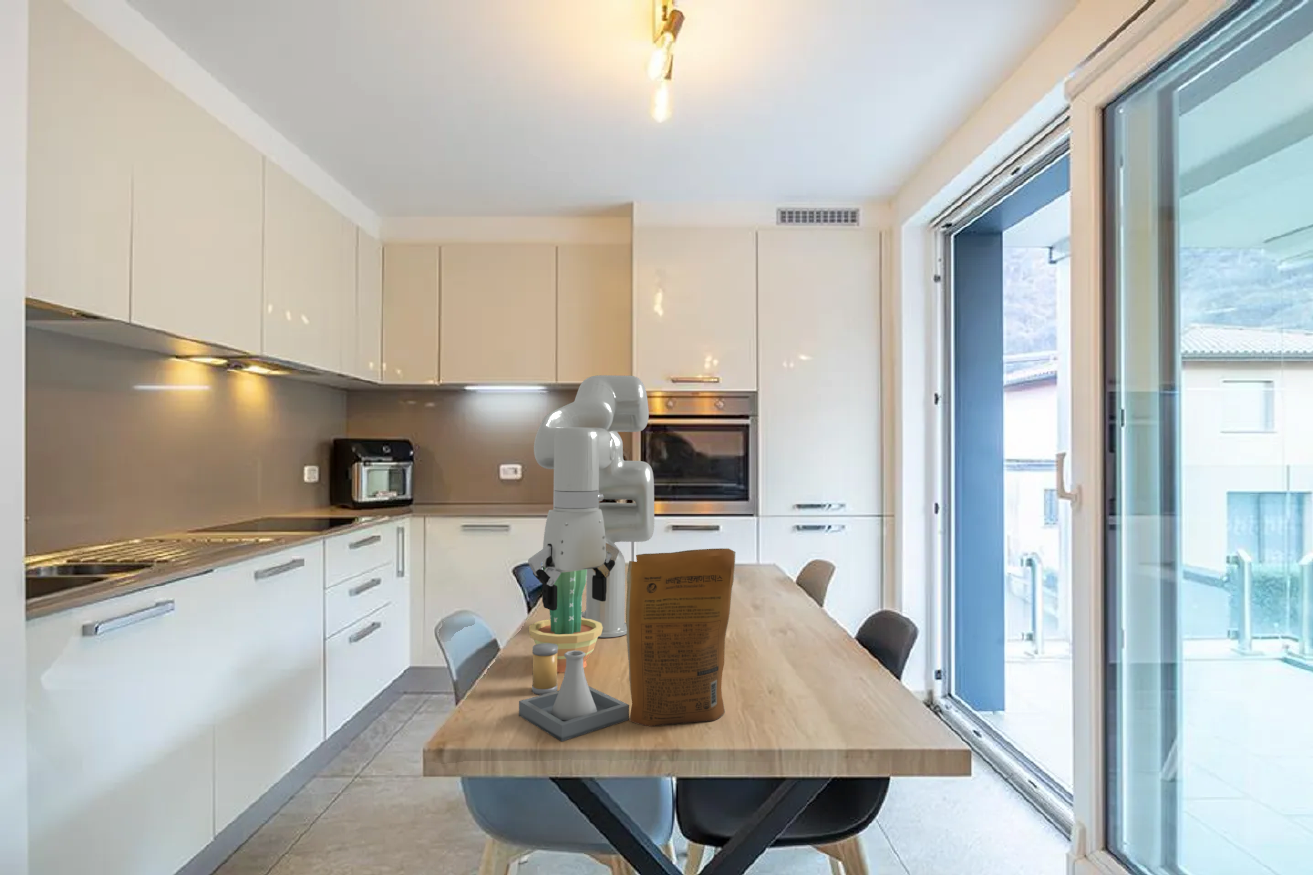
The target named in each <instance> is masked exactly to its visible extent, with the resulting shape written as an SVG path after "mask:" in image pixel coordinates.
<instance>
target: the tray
mask: <svg viewBox="0 0 1313 875" xmlns="http://www.w3.org/2000/svg"><path fill="white" fill-rule="evenodd" d="M588 687H589V690H590V693H591V695H592V698H593V700H594V703H595V706H596V709H597V712H594V713H591V714H588V715H585V716H581V717H578V718H575V719H571V720H568V721H566V720H560V719H558V718H556V717H554V716H553V715H551V711H552V708H553V706H554V703H555V701H556V698H557V695H558V693H559V690H557V691H555V692H551V693H547V694H544V695H536V696H532V697H529V698H526V699H523V700H522V699H521V700H519V701H518V716H519V717H521V718H522V719H524V720H525V721H527V722H529V723H530V724H532V725H534V726H535V727H536V728H539V729H540V730H541V731H543V732H545V733H546V734H548V735H549V736H551V737H553V738H554V739H557V740H558V741H560V742H561V743H562V742H565V741H568V740H571V739H574V738H577V737H580V736H583V735H586V734H590V733H592V732H596V731H599V730H601V729H605V728H607V727H610V726H611V727H612V726H614V725H617V724H620V723H623V722H627V721H629V718H630V704H629V703H626V702H624V701H623V700H622V701H621V700H619V699H617V698H616V697H613V696H612V695H610V694H606V693H604V692H602V691H600V690H599V689H596V688H594V687H592V686H589V685H588Z"/></svg>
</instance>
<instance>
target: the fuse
mask: <svg viewBox="0 0 1313 875" xmlns="http://www.w3.org/2000/svg"><path fill="white" fill-rule="evenodd" d="M557 653H558V645H556V644H552V643H542V644H537V645H535V644H534V645H533V646H532V686H531V692H532V694H535V695H536V696H540V695H544V694H547V693H551V692H555V691H558V672H557Z"/></svg>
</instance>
